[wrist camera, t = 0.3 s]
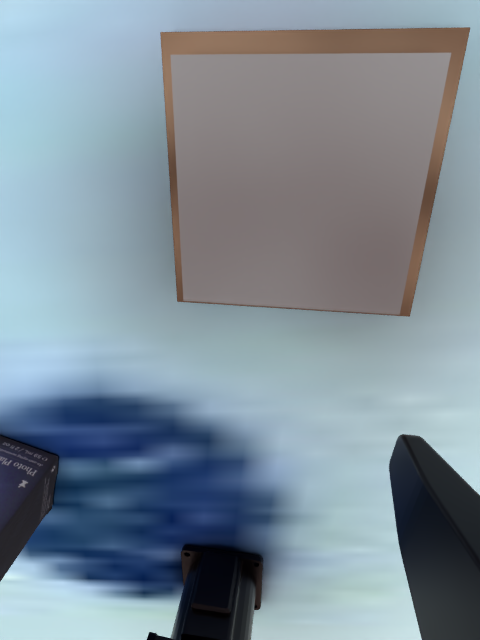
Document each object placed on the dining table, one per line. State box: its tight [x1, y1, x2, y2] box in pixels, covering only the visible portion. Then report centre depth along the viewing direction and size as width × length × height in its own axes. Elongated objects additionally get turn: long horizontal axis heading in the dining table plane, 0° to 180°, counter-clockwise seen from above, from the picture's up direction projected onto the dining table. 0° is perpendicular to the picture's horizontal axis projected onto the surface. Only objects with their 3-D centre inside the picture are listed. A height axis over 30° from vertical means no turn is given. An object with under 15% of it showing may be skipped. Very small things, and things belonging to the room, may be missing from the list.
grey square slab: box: [171, 53, 451, 315], centre depth 18 cm, size 10×10×2 cm
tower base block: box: [161, 28, 470, 316], centre depth 20 cm, size 12×12×2 cm
